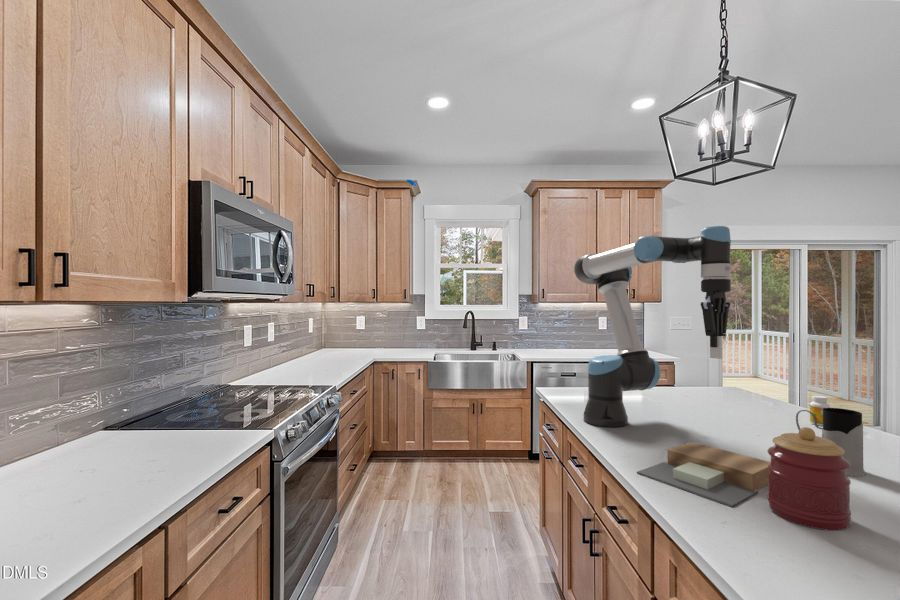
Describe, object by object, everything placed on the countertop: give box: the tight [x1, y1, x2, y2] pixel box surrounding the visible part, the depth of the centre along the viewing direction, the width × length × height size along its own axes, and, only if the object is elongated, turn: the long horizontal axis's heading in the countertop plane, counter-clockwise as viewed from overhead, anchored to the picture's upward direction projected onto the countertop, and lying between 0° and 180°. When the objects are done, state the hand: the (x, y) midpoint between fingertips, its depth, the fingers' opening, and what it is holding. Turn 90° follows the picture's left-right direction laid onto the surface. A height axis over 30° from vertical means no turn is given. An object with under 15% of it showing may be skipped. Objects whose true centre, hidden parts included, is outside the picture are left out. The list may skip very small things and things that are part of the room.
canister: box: [767, 426, 852, 531], centre depth 88 cm, size 13×13×18 cm
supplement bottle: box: [809, 395, 831, 427], centre depth 154 cm, size 5×5×10 cm
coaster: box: [673, 462, 724, 489], centre depth 105 cm, size 8×8×2 cm
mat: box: [636, 461, 759, 508], centre depth 104 cm, size 22×12×1 cm, turn 33°
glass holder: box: [795, 407, 867, 478], centre depth 115 cm, size 9×14×15 cm, turn 32°
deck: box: [666, 441, 771, 491], centre depth 111 cm, size 20×12×4 cm, turn 33°
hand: (715, 358), depth 130 cm, fingers closed
